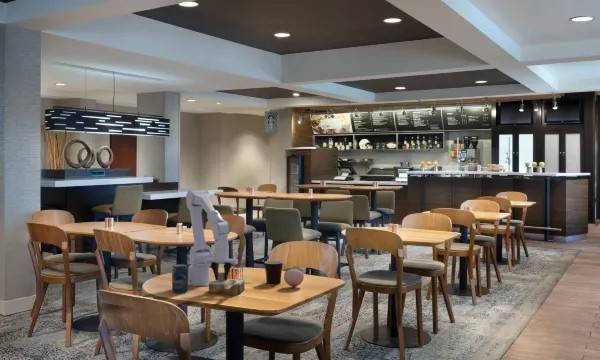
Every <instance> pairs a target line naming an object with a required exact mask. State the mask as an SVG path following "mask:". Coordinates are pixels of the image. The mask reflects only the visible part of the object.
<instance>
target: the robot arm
mask: <svg viewBox="0 0 600 360" xmlns="http://www.w3.org/2000/svg"><path fill="white" fill-rule="evenodd" d="M185 200H186V206H187V207H186V208H187V209H188V210H189V214H190V221H191V227H192V229H191V230H192V235H193V245H192V247H191V248H190V250H189V262H190V264H191V265H189V266H188V286H194V287H195V286H196V287H198V286H199V287H200V286H201V287H207V286H208V287H209V282H210V281H211V280H210V268H211V269H212V272H213V274H214V279H215V280H218V273H219V266H220V265H221V264H222V265H223V272H224V280H227V279H228V276H229V273H230V270H231V268H232V265H238V263H239V259H238V258H237V259H236V258H228V257H229V255H228V254H229V245H228V244H229V243H228V242H229V241H228V240H229V234H230V233H231V225H230V222H229V221H226V219H225V220H224V218H223V217H222V215H221V214H220V212H219V211H218V210H216V209H215V207H214V206H213V204H212V201H211V194H210V192H209V190H208V189H204V190H203V189H202V190H201V189H200V190H188V191H187V193H186V196H185ZM202 210H204V211H205V212H206V214H207V216H206V218H207V220H208V222H209V223H210V225H211V227H212V229H211V232H212V235H213V236H212V237H213V240H214V254H213V251H212V247H211V246H209V245H208V244H207V243H206V239H205V238H206V237H205V229H204V224H203V217H202Z"/></svg>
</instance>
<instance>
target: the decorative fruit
mask: <svg viewBox="0 0 600 360" xmlns="http://www.w3.org/2000/svg"><path fill="white" fill-rule="evenodd" d="M284 271H285V272H284V273H283V279H284V281H285V283H286V284H287V285H288V286H290V287H291V288H296V287H298V286H299V285H301V284H302V283H303V281H304V278H305V277H304V276H305V275H304V272H305V270H304V269H303V268H301V267H286V268H285V269H284Z"/></svg>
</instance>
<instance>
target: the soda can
mask: <svg viewBox="0 0 600 360" xmlns="http://www.w3.org/2000/svg"><path fill="white" fill-rule="evenodd" d="M171 269H172V270H171V289H172V292H173V293H174V294H176V293H182V294H185V293H187V292H188V290H189V285H188V269H189V266H187V264H185V263H177V264H173V266H172V268H171Z"/></svg>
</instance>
